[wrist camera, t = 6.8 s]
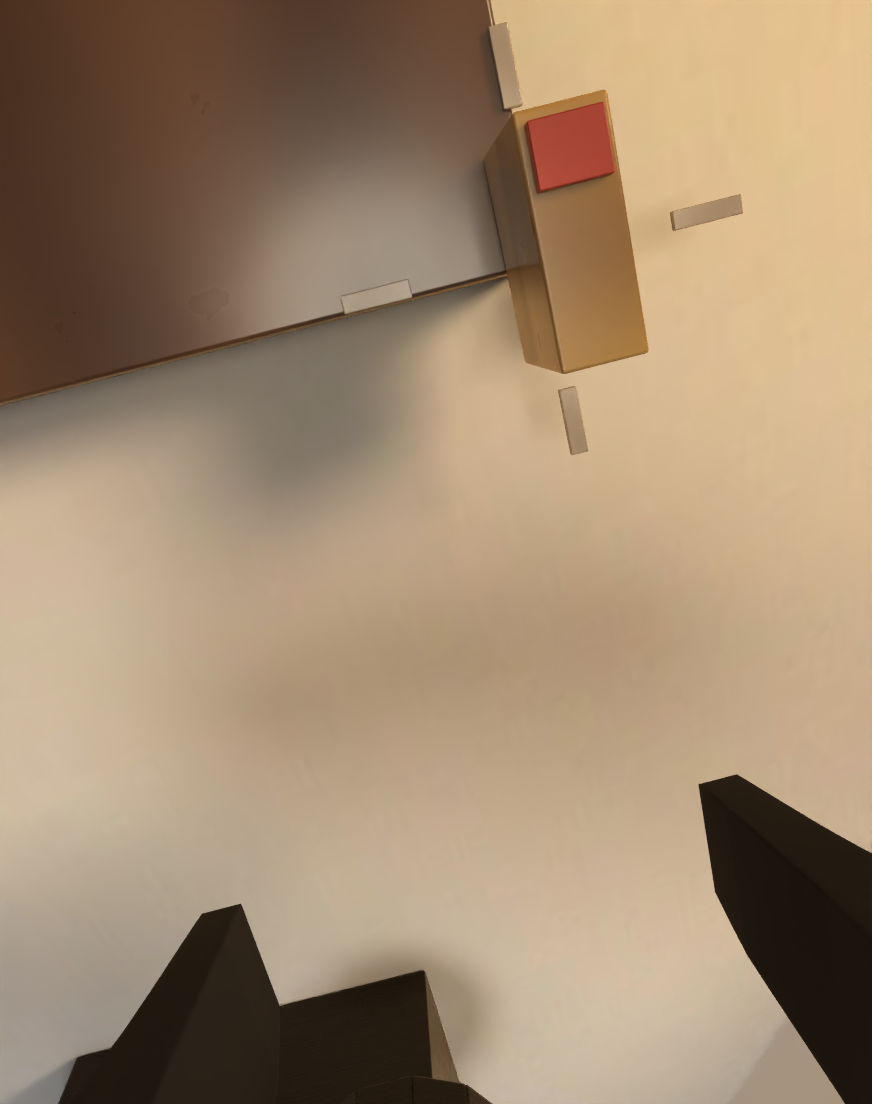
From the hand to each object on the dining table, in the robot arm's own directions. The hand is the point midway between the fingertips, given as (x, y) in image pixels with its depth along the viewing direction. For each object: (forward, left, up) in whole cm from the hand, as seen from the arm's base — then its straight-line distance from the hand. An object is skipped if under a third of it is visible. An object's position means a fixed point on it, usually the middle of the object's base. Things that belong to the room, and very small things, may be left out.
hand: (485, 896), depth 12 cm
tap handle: (-4, -9, -7) cm, 12 cm away
